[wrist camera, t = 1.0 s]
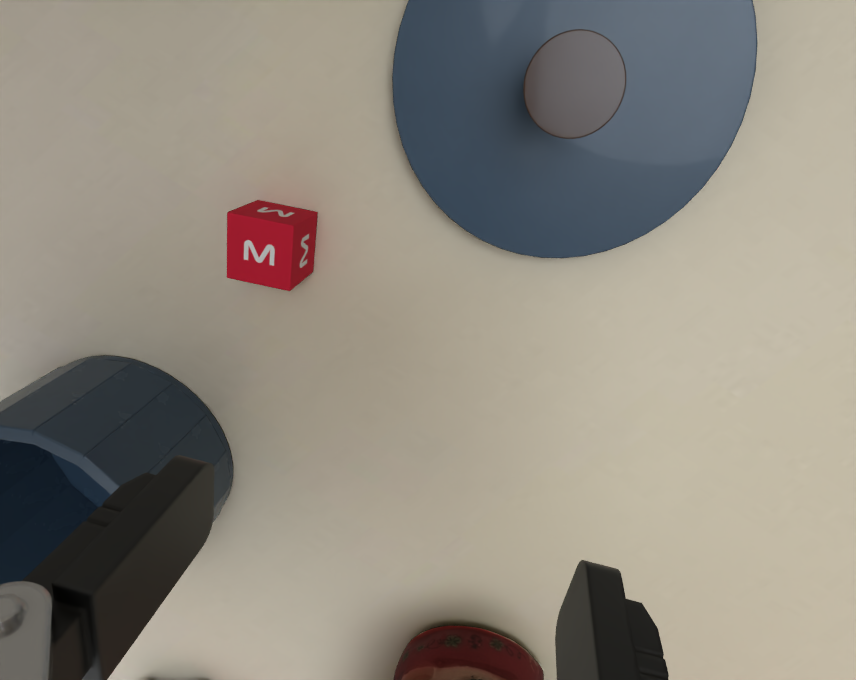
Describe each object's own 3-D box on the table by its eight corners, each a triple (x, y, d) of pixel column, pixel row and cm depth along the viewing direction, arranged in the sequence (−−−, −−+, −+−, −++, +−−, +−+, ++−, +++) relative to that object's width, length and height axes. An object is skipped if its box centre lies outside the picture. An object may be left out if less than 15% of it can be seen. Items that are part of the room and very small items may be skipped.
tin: (1, 383, 34) (-129, 455, 28) (168, 330, 31) (66, 398, 24) (109, 543, 38) (19, 639, 32) (267, 512, 35) (204, 614, 28)
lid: (349, -26, 23) (283, -68, 17) (714, -200, 19) (800, -337, 13) (457, 286, 27) (436, 342, 21) (769, 196, 23) (852, 233, 17)
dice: (317, 211, 27) (294, 225, 24) (313, 272, 28) (290, 291, 25) (257, 199, 27) (227, 212, 24) (255, 259, 28) (226, 277, 26)
